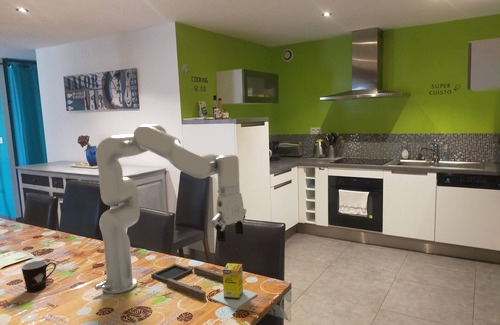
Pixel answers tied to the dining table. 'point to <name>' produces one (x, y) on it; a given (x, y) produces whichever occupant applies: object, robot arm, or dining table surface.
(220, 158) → the robot arm
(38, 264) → the coffee mug
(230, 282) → the supplement box
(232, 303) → the pad
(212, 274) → the wooden bars
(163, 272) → the tray
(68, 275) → the dining table surface
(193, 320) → the dining table surface
